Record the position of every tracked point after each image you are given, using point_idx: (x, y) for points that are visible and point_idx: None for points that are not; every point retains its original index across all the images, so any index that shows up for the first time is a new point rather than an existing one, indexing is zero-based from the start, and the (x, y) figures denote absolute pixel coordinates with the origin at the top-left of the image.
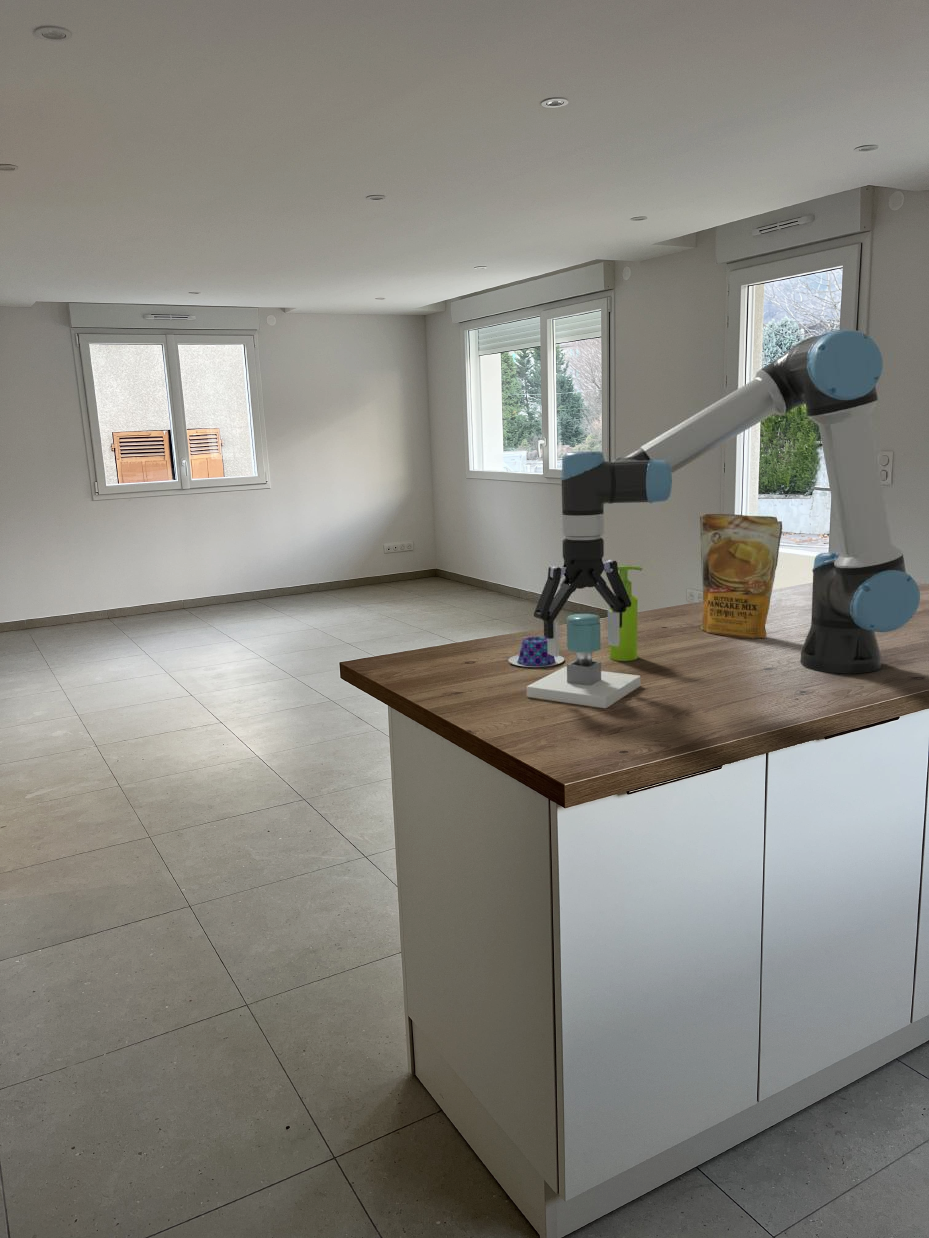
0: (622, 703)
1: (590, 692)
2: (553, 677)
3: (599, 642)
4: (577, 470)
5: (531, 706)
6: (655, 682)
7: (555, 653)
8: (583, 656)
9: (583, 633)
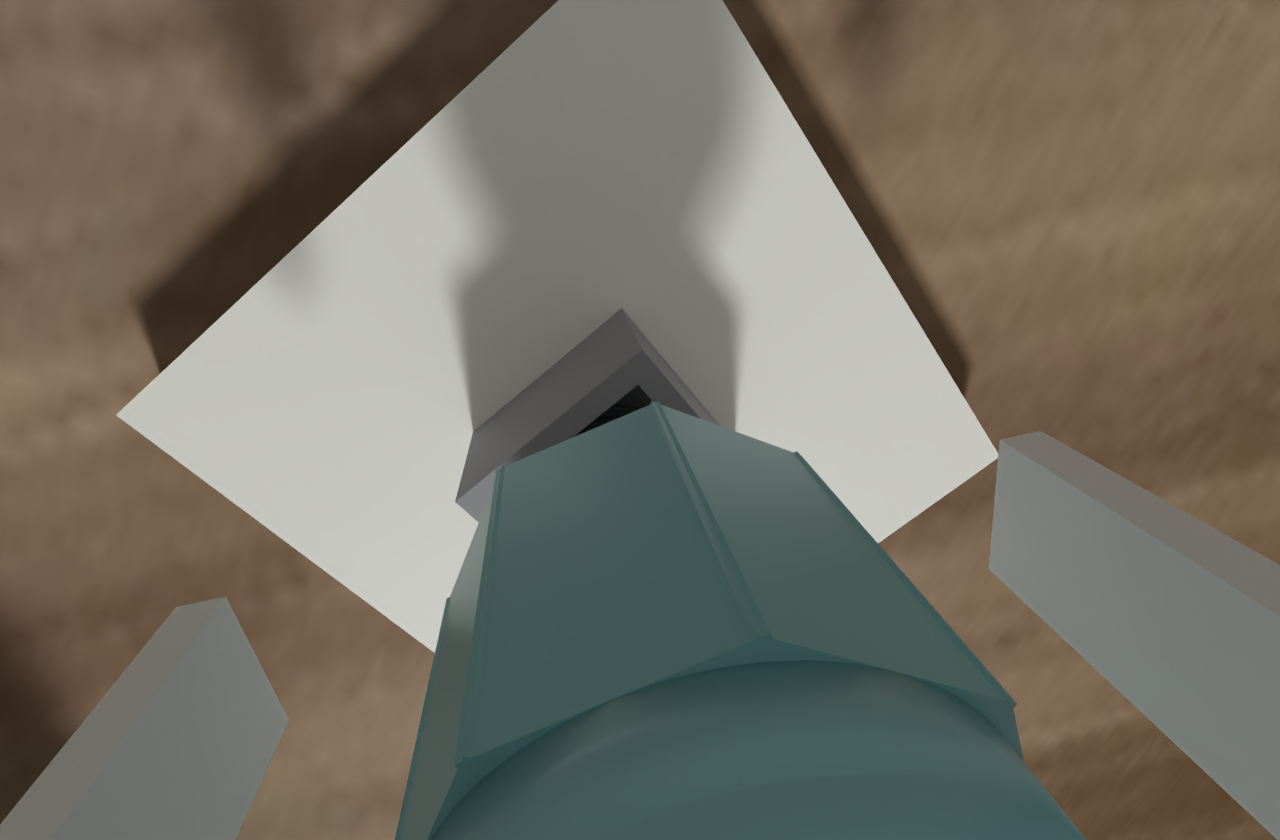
0: (465, 7)
1: (707, 127)
2: None
3: (508, 512)
4: None
5: (1044, 238)
6: (11, 427)
7: (1068, 447)
8: None
9: (833, 574)
